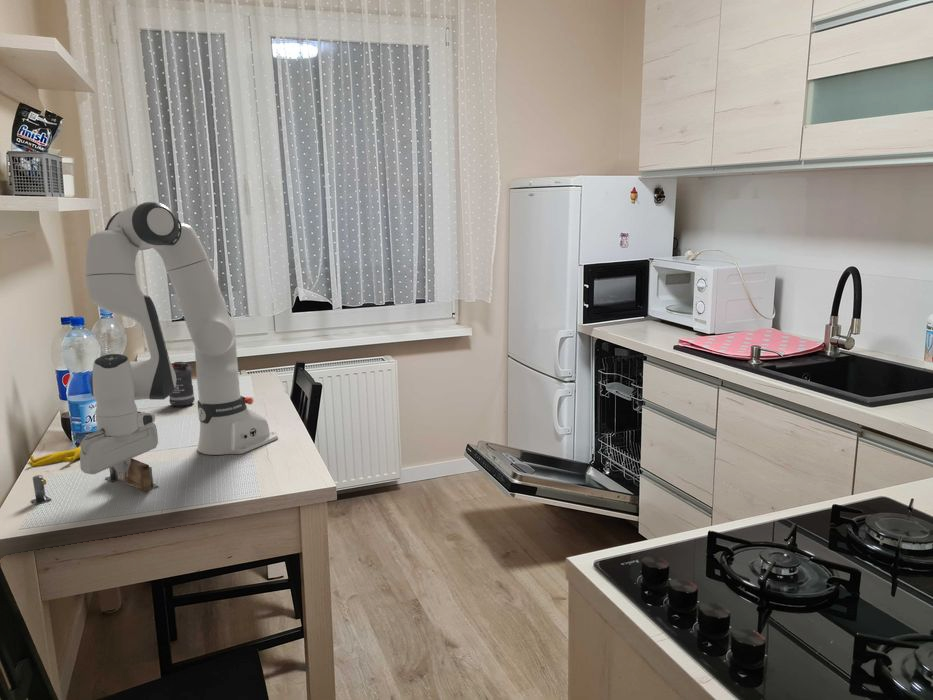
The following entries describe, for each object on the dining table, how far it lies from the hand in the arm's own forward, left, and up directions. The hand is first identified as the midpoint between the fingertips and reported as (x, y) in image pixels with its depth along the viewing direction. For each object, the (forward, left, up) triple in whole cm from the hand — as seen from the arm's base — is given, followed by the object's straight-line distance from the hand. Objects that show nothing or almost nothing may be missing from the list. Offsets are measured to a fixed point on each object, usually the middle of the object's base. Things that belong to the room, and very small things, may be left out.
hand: (123, 478), depth 168 cm
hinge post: (-2, -10, -3) cm, 11 cm away
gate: (-3, -1, -3) cm, 4 cm away
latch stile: (+15, -10, -3) cm, 18 cm away
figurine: (-1, -34, -4) cm, 35 cm away
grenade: (-47, -59, -4) cm, 76 cm away
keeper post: (-5, +3, -3) cm, 6 cm away
